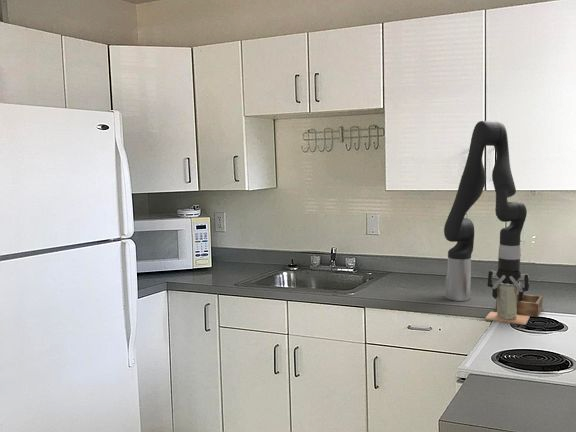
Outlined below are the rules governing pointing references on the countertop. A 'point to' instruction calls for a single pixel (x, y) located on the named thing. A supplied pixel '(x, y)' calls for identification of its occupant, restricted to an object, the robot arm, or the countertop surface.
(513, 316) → the skincare box
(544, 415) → the countertop surface
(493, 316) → the terracotta tile
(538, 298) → the frame
